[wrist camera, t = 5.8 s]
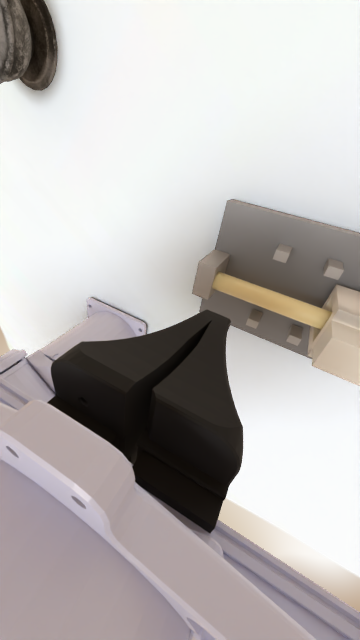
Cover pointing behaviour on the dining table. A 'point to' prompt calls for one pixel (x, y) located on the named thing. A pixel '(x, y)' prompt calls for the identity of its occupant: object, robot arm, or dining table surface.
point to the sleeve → (338, 336)
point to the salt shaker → (27, 43)
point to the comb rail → (276, 273)
